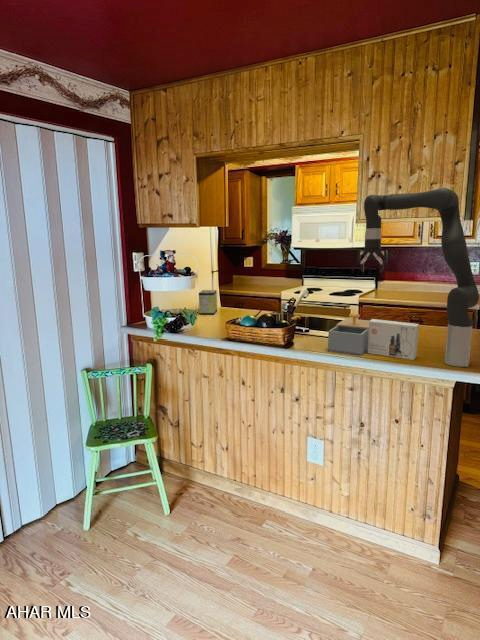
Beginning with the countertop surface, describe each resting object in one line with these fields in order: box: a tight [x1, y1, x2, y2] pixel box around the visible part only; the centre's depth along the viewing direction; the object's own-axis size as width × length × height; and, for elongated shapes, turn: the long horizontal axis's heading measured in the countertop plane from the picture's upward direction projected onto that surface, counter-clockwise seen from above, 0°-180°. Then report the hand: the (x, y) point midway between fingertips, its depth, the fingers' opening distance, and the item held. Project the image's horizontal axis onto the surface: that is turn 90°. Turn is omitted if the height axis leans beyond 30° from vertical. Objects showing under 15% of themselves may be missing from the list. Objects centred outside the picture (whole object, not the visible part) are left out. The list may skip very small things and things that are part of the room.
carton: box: [327, 325, 369, 356], centre depth 207 cm, size 16×16×10 cm
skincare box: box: [367, 318, 420, 361], centre depth 196 cm, size 21×6×16 cm, turn 56°
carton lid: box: [335, 313, 371, 329], centre depth 216 cm, size 16×16×6 cm
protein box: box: [198, 289, 218, 316], centre depth 303 cm, size 10×16×16 cm
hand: (371, 272), depth 208 cm, fingers open, 8 cm apart
